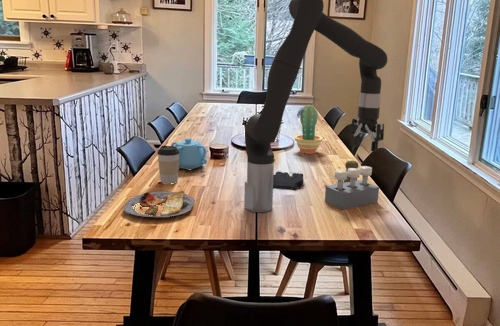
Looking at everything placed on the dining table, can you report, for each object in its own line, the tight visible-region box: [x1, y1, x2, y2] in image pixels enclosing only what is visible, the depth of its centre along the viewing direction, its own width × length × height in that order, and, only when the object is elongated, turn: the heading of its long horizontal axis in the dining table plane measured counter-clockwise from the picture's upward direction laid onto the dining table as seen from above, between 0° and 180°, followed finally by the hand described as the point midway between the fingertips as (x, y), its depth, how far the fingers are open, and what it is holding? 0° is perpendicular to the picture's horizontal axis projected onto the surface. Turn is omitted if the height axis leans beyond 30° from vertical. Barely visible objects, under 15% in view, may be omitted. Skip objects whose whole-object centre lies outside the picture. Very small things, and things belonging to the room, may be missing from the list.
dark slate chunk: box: [273, 170, 304, 191], centre depth 189 cm, size 15×22×5 cm
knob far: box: [359, 165, 373, 186], centre depth 170 cm, size 4×4×8 cm
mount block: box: [324, 179, 380, 211], centre depth 168 cm, size 17×10×6 cm, turn 120°
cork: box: [343, 160, 359, 183], centre depth 185 cm, size 6×6×11 cm
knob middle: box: [347, 168, 361, 188], centre depth 167 cm, size 4×4×8 cm
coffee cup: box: [157, 145, 180, 185], centre depth 186 cm, size 9×9×15 cm
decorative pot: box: [170, 137, 208, 170], centre depth 209 cm, size 16×16×14 cm
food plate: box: [122, 190, 196, 218], centre depth 159 cm, size 25×23×4 cm
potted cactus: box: [294, 105, 324, 155], centre depth 241 cm, size 15×15×25 cm
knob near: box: [334, 169, 347, 191], centre depth 164 cm, size 4×4×8 cm
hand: (365, 148), depth 169 cm, fingers open, 8 cm apart
